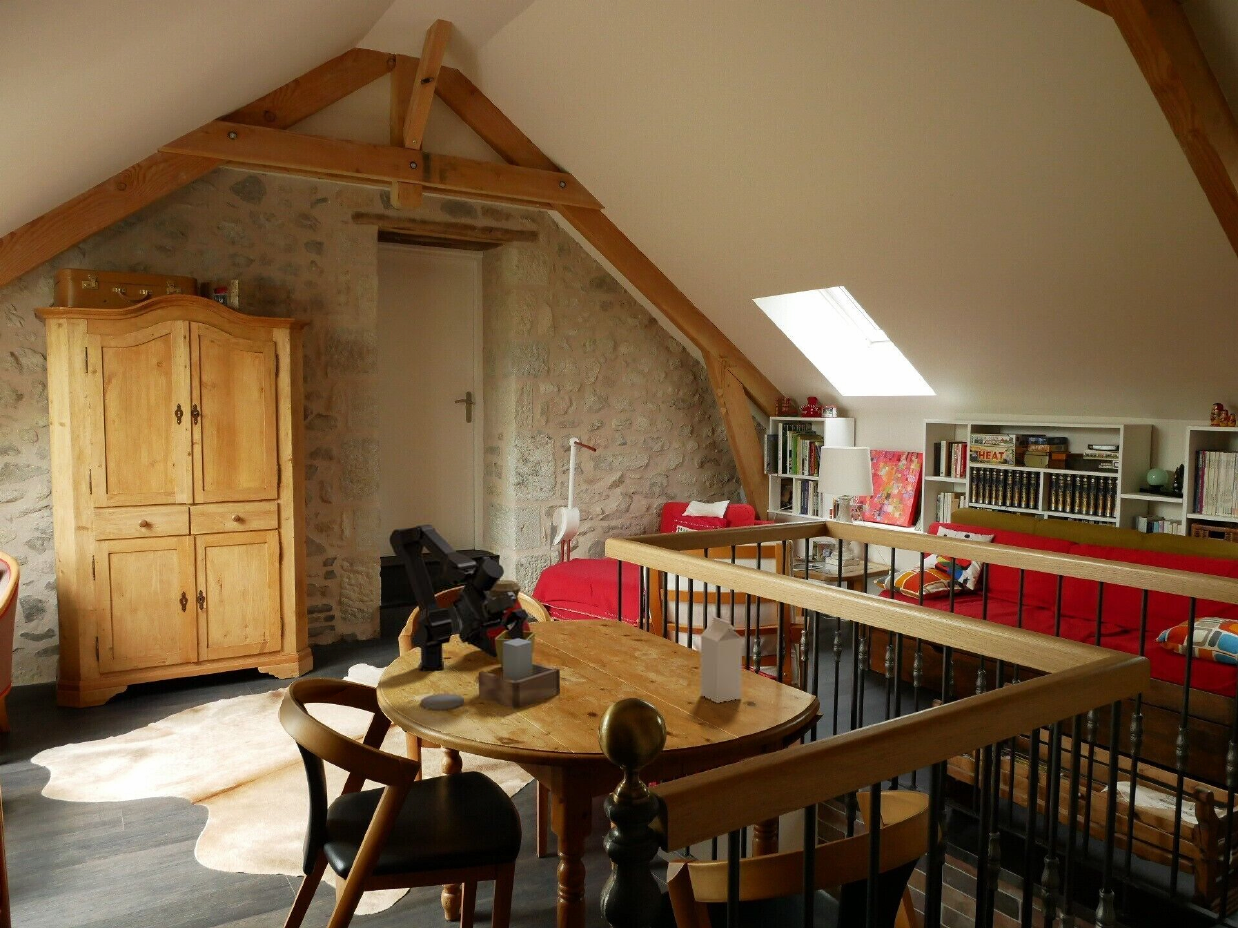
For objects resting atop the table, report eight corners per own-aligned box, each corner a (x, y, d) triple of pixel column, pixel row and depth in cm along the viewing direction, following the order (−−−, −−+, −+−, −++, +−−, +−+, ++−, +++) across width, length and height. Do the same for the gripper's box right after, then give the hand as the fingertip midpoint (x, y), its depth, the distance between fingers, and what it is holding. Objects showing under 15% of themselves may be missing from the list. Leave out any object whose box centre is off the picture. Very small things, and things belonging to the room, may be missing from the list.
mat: (421, 697, 217) (421, 694, 217) (463, 694, 219) (463, 692, 219) (420, 711, 207) (420, 708, 207) (464, 708, 209) (464, 706, 209)
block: (503, 694, 219) (502, 642, 218) (518, 689, 223) (518, 638, 222) (517, 699, 216) (516, 645, 215) (532, 694, 220) (532, 641, 219)
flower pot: (526, 673, 236) (526, 640, 236) (494, 671, 238) (494, 638, 237) (535, 664, 245) (535, 631, 244) (505, 662, 246) (504, 630, 246)
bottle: (469, 655, 253) (468, 585, 251) (486, 643, 266) (486, 576, 264) (522, 659, 249) (522, 587, 248) (537, 646, 262) (537, 578, 261)
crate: (478, 696, 218) (478, 671, 218) (523, 682, 229) (522, 659, 228) (515, 708, 209) (515, 683, 209) (559, 693, 220) (559, 669, 220)
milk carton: (716, 703, 213) (717, 624, 212) (700, 695, 219) (701, 618, 218) (741, 699, 216) (742, 621, 215) (724, 690, 222) (725, 615, 221)
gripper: (465, 588, 216) (496, 641, 209) (523, 577, 230) (554, 626, 223) (445, 616, 222) (475, 668, 215) (503, 603, 236) (532, 652, 229)
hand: (510, 653), depth 221 cm, fingers open, 9 cm apart
